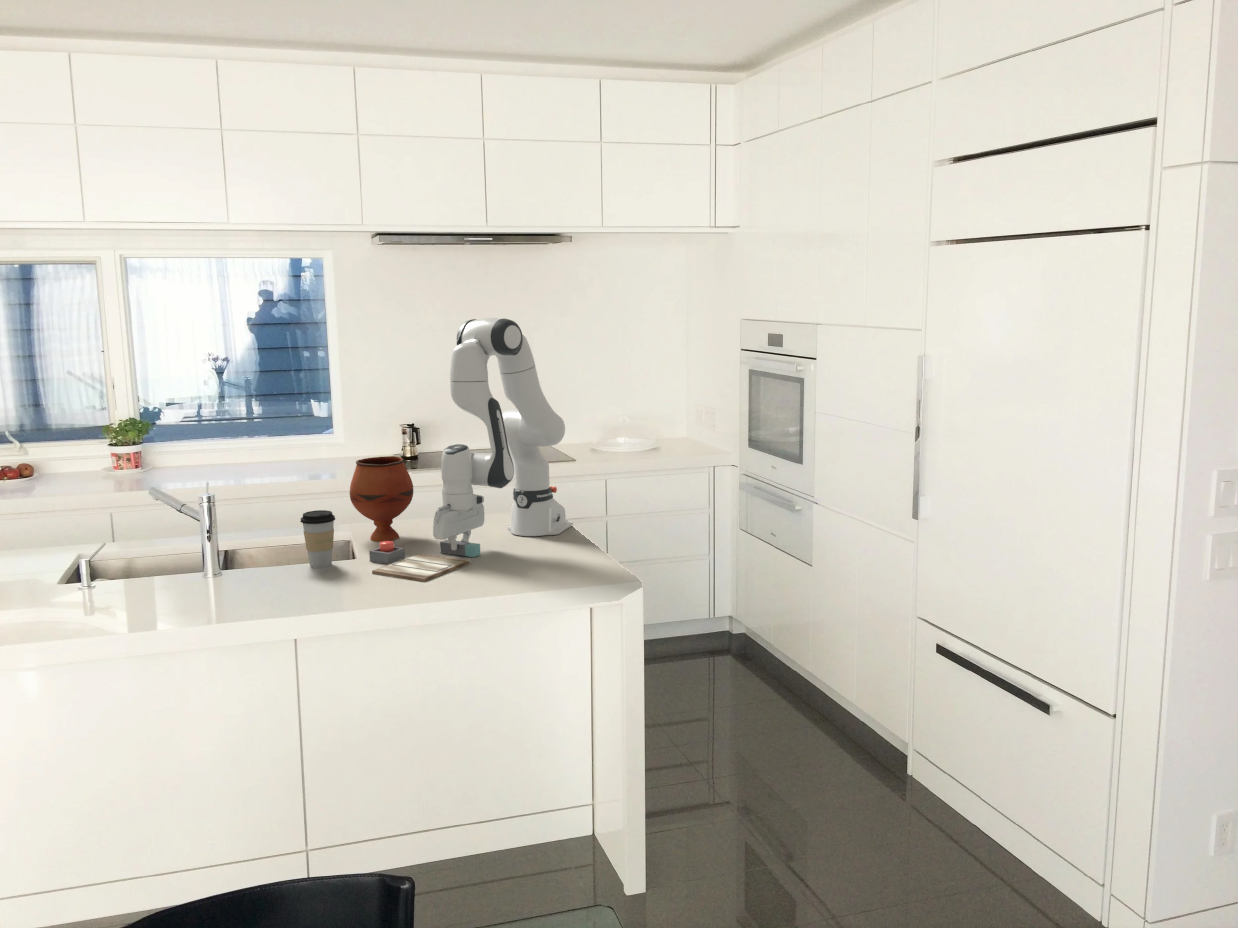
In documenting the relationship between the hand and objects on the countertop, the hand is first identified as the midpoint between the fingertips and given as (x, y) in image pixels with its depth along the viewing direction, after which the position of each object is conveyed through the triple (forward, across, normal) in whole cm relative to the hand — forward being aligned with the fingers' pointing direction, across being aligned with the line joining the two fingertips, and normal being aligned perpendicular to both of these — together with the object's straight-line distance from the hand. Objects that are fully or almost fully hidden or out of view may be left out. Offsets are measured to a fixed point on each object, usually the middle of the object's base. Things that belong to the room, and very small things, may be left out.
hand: (460, 547), depth 294 cm
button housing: (+2, -14, +15) cm, 21 cm away
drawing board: (+2, -17, 0) cm, 17 cm away
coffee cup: (+2, -27, +28) cm, 39 cm away
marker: (+2, 0, 0) cm, 2 cm away
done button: (-1, -14, +15) cm, 21 cm away
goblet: (+2, +5, +33) cm, 34 cm away
